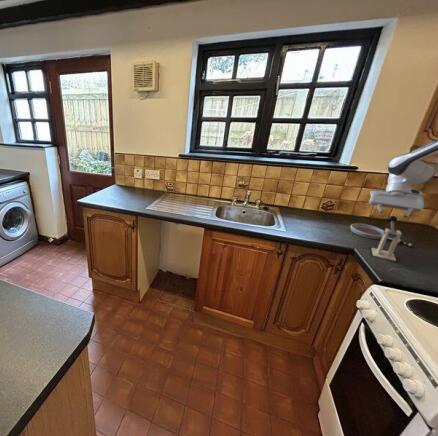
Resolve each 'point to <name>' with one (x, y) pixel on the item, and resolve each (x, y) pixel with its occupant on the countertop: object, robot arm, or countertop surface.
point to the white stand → (389, 253)
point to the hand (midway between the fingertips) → (392, 214)
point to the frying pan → (370, 232)
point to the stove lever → (392, 226)
